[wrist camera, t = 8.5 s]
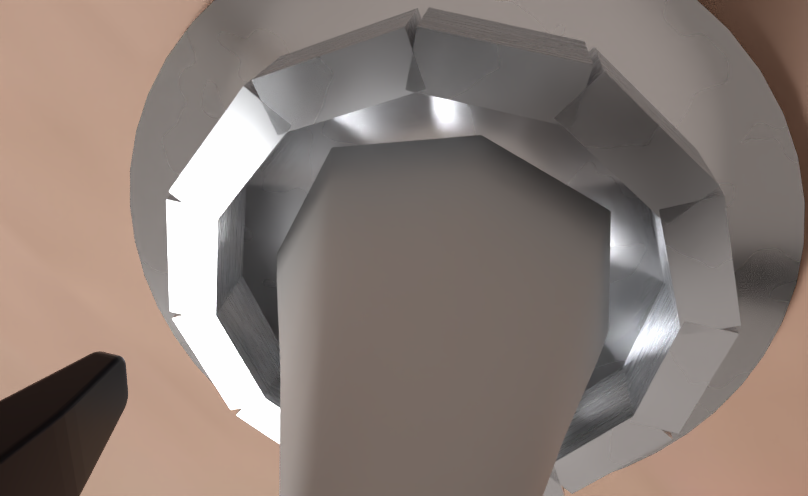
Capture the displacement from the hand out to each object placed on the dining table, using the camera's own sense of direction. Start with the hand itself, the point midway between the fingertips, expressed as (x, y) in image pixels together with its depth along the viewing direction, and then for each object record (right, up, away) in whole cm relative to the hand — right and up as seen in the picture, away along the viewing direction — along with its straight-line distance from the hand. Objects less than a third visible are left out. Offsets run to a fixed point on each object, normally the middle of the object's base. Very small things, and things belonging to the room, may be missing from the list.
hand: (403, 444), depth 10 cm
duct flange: (+1, +3, +4) cm, 5 cm away
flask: (+1, +2, +4) cm, 5 cm away
